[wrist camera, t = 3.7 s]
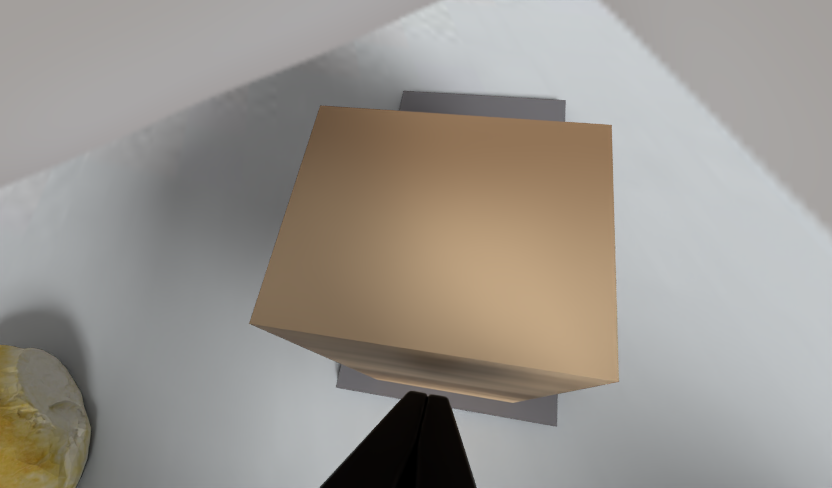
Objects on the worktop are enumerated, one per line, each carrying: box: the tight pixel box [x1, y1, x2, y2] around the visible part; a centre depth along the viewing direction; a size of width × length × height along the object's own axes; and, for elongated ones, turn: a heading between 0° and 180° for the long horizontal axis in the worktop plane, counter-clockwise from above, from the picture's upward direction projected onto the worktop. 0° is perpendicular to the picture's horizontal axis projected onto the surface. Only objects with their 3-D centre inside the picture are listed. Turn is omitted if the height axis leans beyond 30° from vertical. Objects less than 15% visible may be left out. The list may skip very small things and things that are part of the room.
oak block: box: [249, 106, 619, 403], centre depth 11 cm, size 4×5×10 cm
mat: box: [336, 91, 566, 426], centre depth 17 cm, size 14×8×1 cm, turn 172°
